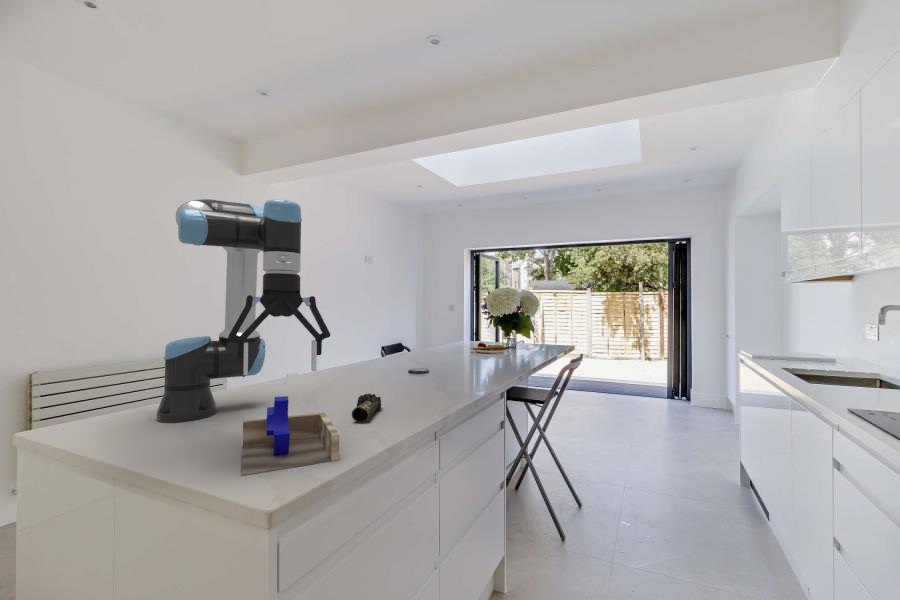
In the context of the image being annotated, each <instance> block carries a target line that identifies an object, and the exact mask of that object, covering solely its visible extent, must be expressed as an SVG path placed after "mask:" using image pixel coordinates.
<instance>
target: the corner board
mask: <svg viewBox="0 0 900 600" xmlns="http://www.w3.org/2000/svg"><path fill="white" fill-rule="evenodd" d="M289 428H290V439H289V454H284V455H275V456H274V435H270V436H267V417H266V418H260V419H258V418H257V419H256V418H255V419H248V420H242V452H241V465H240V466H241V468H240V477H245V476H250V475H252V476H253V475H259V474H264V473H270V472H275V471H277V472H278V471H281V470H283V471H284V470H288V469H289V470H290V469H294V468H295V469H296V468H299V467H307V466H314V465H320V464H326V463H333V462H336V461H337V462H338V461H340V433H339V431H338V430H337V429H336V427H335V426H334V424H333V423H332V421H331V420H330V419H329V416H328V415H327V414H326V412H318V413H309V414H298V415H288V429H289Z"/></svg>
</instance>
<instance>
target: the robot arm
mask: <svg viewBox="0 0 900 600" xmlns="http://www.w3.org/2000/svg"><path fill="white" fill-rule="evenodd" d="M302 221H303V218H302V209H301V206H300V205H299V203H297V202H295V201H292V200H288V199H268V200H266V201H265V202H264V204H263V207H262V206H259V205H255V204H251V203H241V202H234V201H233V202H232V201H225V200H218V199H210V198H208V199H207V198H206V199H203V198H201V199H195V200H194V199H193V200H189V201H186V202H184V203H182V204H181V205H180V206H179V207H178V208H177V210H176V213H175V222H176V225H177V229H178V230H177V233H178V234H177V235H178V241H179V242H180V243H182V244H186V245H194V246H198V247H199V246H206V247H207V246H209V247H222V248H223V250H224V251H225V252H226V274H225V275H226V276H225V277H226V278H225V282H226V284H225V309H224V310H225V313H224V314H225V315H224V329H223V330H222V331H221V332H220V333H219V334H218V340H212V338H211V336H208V335H207V336H194V337H193V336H192V337H187V338H181V339H176V340H172V341H170V342H168V343H167V344H166V345H165V348H164V349H165V350H164V358H163V360H164V382H163V383H164V392H163V395H162V398H161V400H160V403H159V406H158V408H157V410H156V421H157V422H160V423H164V422H165V423H168V424H176V423H187V422H189V421H190V422H195V420H196V421H201V420H204V418H205V419H208V418H210V417H213V416H215V415H216V414H217V404H216V401H215V398H214V396H213V392H212V390H211V380H214V379H229V378H237V377H238V378H239V377H242V378H245V377H247V376H254V375H255V376H256V375H257V374H259V373H260V372H261V370H262V369H263V366H264V363H265V358H266V341H265V340H264V339H263V338H261V334H260V332H259V331H257V328H258V327H259V326H260V325H262V323H263V322H264V320H266V319H267V318H268V317H269V316H272V317H275V318H277V317H286V318H287V317H292V316H294V317H295V318H296V319H297V320H298V321H299V322H300V323H301V324H302V326H303V327H304V328H305V329H306V330H307V331H308V332H309V334H311V335H312V337H313V338H314V340H313V339H312V340H311V348H310V349H311V351H310V352H311V361H310V362H311V363H310V364H311V365H310V366H311V367H310V369H311V371H312V372H317V364H318V363H317V362H318V360H317V359H318V358H317V356H321V354H322V349H323V347H322V346H323V344H322V343H323V340H325V339H327V338H330V337H331V332H330V331H329V329H328V327H327V325H326V323H325V320H324V319H323V316H322V314H321V313H320V310H319V309H318V307H317V301H316V297H315V296H313V295H312V296H311V295H310V296H308V297H305V296H304V297H302V294H301V276H300V274H298V273H300V272H301V251H302V250H301V248H302V245H301V244H302V242H301V241H302ZM261 252H262V271H264V272H265V273H264V274H263V275H262V293H261V294H262V295H261V296H257V284H258V283H257V281H258V261H259V260H258V259H259V257H258V255H259V253H261ZM258 303H260V304H261V305H262V307H263V308H264V310H263V311H262V312H261V313H260V314H259V316H257V317H256V314H257V311H256V310H257V304H258ZM303 303H304V304H305V306H306V307H308V308H309V309H310V312H311V314H312V315H313V318H314V319H315V322H316V323H317V325H318V328H319V329H320V331H321V333H319V332H318V331H317V329H316V328H315V327H314V326H313V325H312V324H311V323H310V321H309V320H308V319H307V318H306V317H305V315H303V313H302V312H301V311H300V310H299V308H300V306H301V305H302V304H303ZM200 419H201V420H200ZM165 423H164V424H165Z"/></svg>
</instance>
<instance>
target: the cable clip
mask: <svg viewBox="0 0 900 600" xmlns="http://www.w3.org/2000/svg"><path fill="white" fill-rule="evenodd" d="M273 399H274V400H273V406H270V407H269V406H268V407H266V418H267V436H270V435H274V456H275V455H284V454H289V439H290V428H289V429H288V416H289V395H285V396H284V395H283V396H274V398H273Z"/></svg>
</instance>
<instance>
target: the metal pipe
mask: <svg viewBox="0 0 900 600" xmlns="http://www.w3.org/2000/svg"><path fill="white" fill-rule="evenodd" d="M380 409H382V399H381V396H376V394H375V393H373V394H371V392H370V393H364V394H361V395H360V396H358V399H357V403H356V407H354V408H353V410H352V411H351V418H352V419H353V420H354V421H355V422H356V423H360V424H364V423H366V422H367V421H368V420H369V418H371V416H372V415H373V414H374V413H375V412H380Z"/></svg>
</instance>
